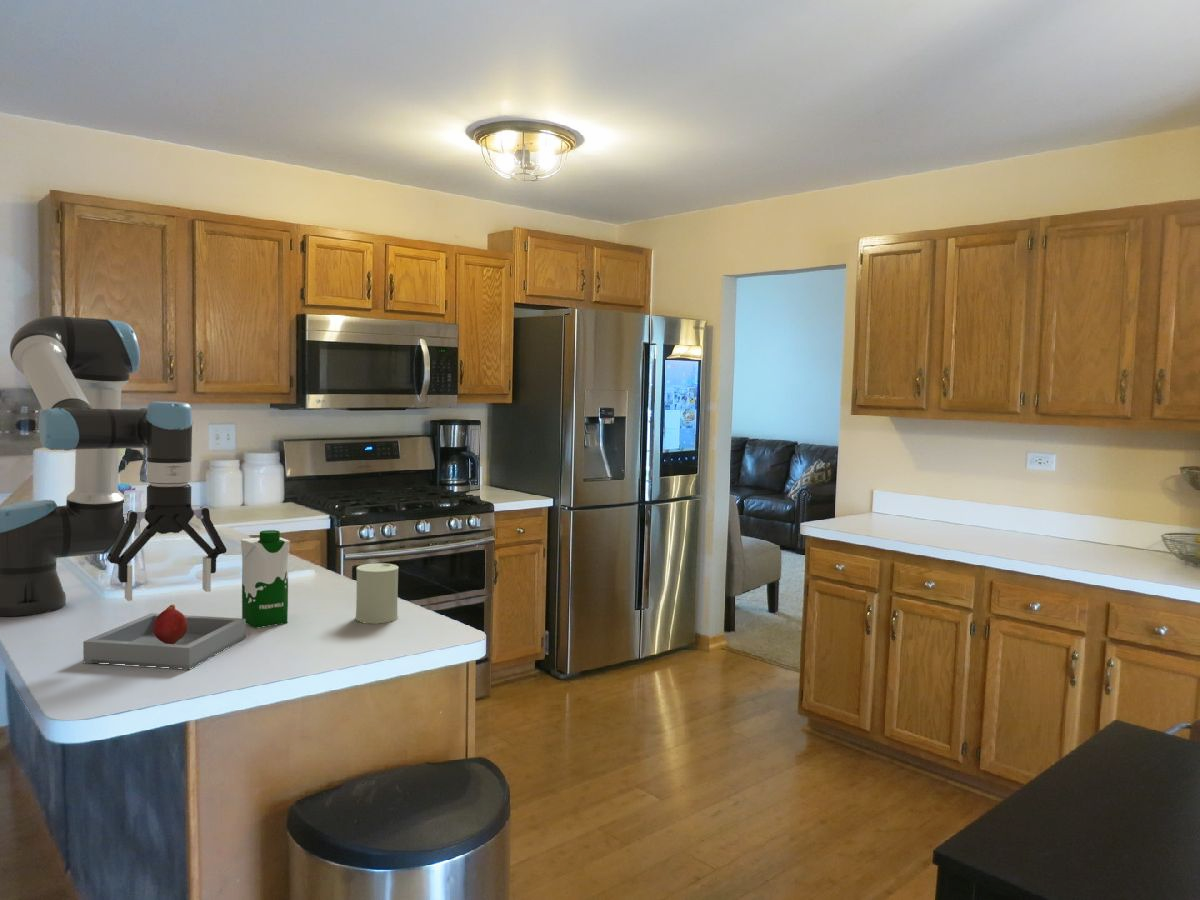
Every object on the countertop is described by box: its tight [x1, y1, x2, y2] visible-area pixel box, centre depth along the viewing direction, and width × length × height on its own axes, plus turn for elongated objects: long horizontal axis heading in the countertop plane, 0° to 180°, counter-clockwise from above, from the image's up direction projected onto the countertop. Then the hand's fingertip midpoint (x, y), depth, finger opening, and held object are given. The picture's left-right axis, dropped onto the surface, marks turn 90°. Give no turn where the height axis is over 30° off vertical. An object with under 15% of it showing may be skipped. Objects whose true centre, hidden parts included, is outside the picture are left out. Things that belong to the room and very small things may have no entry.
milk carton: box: [240, 529, 291, 629], centre depth 183 cm, size 9×9×20 cm
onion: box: [153, 604, 187, 644], centre depth 162 cm, size 6×6×8 cm
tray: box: [82, 612, 247, 670], centre depth 162 cm, size 20×20×4 cm
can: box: [355, 562, 400, 624], centre depth 189 cm, size 9×9×12 cm
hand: (168, 594), depth 162 cm, fingers open, 13 cm apart
